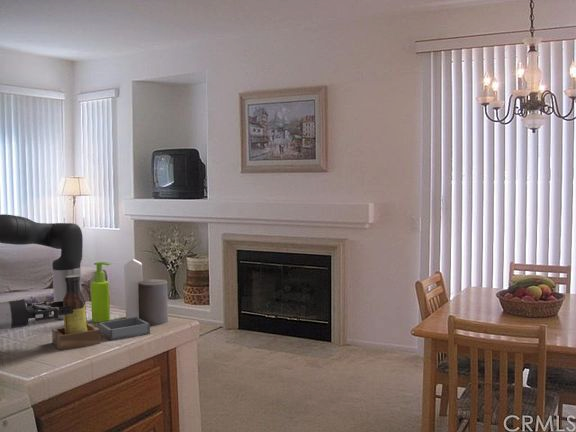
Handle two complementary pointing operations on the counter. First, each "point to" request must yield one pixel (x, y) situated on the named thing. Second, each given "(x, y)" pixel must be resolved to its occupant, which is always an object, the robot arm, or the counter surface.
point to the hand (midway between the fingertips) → (68, 306)
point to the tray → (124, 328)
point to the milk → (132, 287)
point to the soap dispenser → (100, 295)
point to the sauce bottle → (74, 306)
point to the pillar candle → (153, 301)
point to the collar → (75, 338)
